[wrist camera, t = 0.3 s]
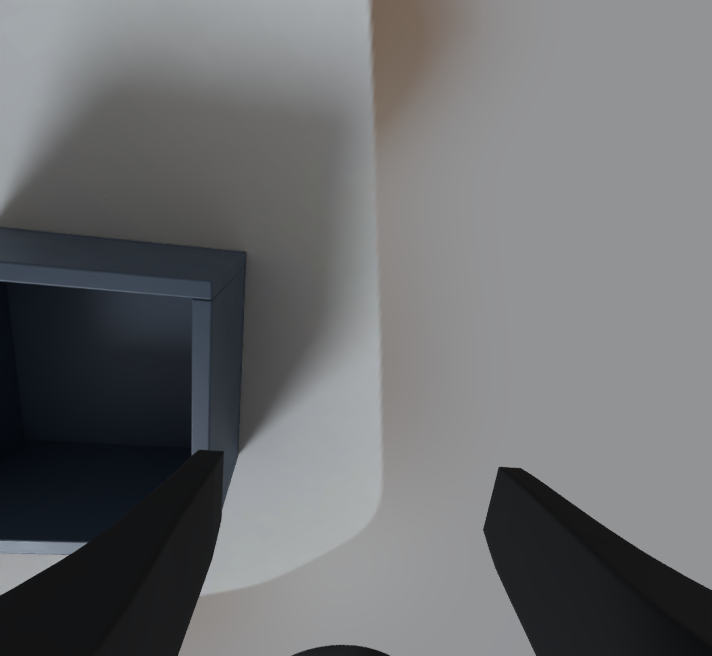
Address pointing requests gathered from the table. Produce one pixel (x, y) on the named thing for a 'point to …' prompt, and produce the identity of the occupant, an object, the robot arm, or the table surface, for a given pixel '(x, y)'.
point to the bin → (109, 377)
